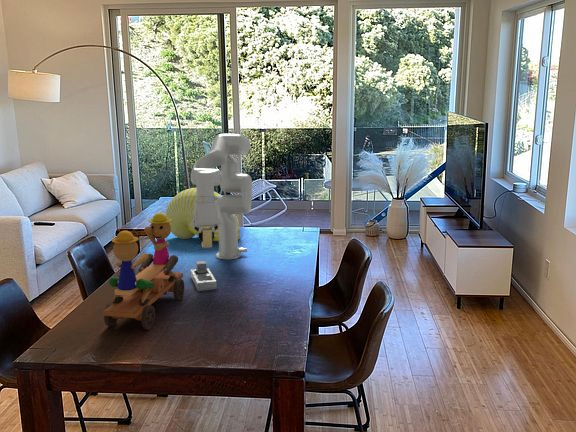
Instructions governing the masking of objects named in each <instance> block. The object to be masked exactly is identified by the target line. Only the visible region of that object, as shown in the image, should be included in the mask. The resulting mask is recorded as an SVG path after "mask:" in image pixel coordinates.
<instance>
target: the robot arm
mask: <svg viewBox="0 0 576 432" xmlns="http://www.w3.org/2000/svg"><path fill="white" fill-rule="evenodd" d="M250 142H251V141H250V139H248V137H246V136H244V135H242V134H239V133H220V134H217V135H216V136H215V137H214V139H213V142H212V144H211V147H210V150H209V152H208V153H206V154H204V155H203V156H201V157H200V158H198V159H197V160H196V161H195V162H194V164H193V167H192V169H191V173H190V182H191V183H192V185H195V188H196V191H197V202H196V203H195V205H194V219H193V221H192V223H191V224H190V226H191V227H192V228H194V229H195V230H196V231H198V235H197V236H198V240H199V241H200V242H202V231H201V230H202V226H210V227H211V229H212V242H213V239H214V232H215V230H216V229H217V228H218V236H219V242H218V252H217V253H216V254H215V257H216V258H217V259H218V260H219V259H220V260H231V261H232V260H236V259H239V258H241V257H242V254H241V253H247V252H248V248H247V247H245V248H244V247H239V246H238V244H239V242H238V241H239V240H238V236H237V221H236V219H235V217H234V216H233V215H232V214H236V215H244V216H245V215H248V214H250V212H251V211H252V210H251V209H252V198H253V197H252V196H253V180H252V177H251V175H250V174H248V173H239V163H238V161H237V159H236V158H235V157H234V155H235V156H237V155H238V156H244V155H248V153H249V152H250V149H251V143H250ZM219 166H221V167H220V169H218V168H217V167H219ZM216 186H217V187H218V186H219V187H220V191H222V192H224V193H236V194H237V193H240V194H241V195H240V194H237V195H236V194H220V195H221V196H219V197H216V196H214V191H215V187H216ZM215 200H216V202H214V201H215ZM194 224H195V225H196V226H198V227H196V226H195V225H194ZM216 224H217V225H216ZM214 225H215V226H214Z"/></svg>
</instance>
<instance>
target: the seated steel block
mask: <svg viewBox="0 0 576 432" xmlns="http://www.w3.org/2000/svg"><path fill="white" fill-rule="evenodd" d="M207 268H208V267H207V262H206V261H205V260H202V261H201V260H198V261H195V269H196V275H199V274H207Z"/></svg>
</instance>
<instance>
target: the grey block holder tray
mask: <svg viewBox="0 0 576 432" xmlns="http://www.w3.org/2000/svg"><path fill="white" fill-rule="evenodd" d="M206 268H207V274H199V275H196V268H195V269H190V278H191V280H192V282H193V284H194V287H195V288H196V291H198V292H201V291H209V290H217V287H218V286H217V280H216V278H215V276H214V275H213V273H212V272H211V270H210V268H209V267H206Z"/></svg>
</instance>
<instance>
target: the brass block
mask: <svg viewBox="0 0 576 432" xmlns="http://www.w3.org/2000/svg"><path fill="white" fill-rule="evenodd" d="M201 231H202V242H201V241H200V242H201V244H200V245H201V247H202V248H205V249H206V248H212V247H213V241H212V229H211V227H202V230H201Z"/></svg>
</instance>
